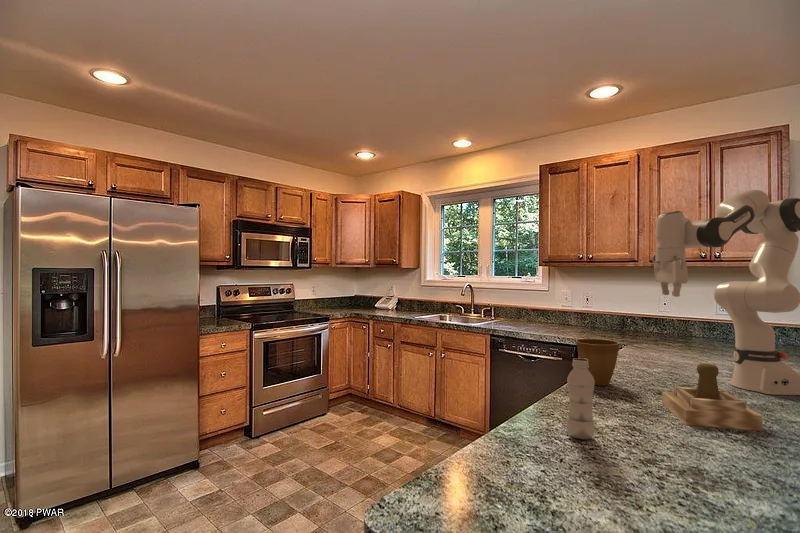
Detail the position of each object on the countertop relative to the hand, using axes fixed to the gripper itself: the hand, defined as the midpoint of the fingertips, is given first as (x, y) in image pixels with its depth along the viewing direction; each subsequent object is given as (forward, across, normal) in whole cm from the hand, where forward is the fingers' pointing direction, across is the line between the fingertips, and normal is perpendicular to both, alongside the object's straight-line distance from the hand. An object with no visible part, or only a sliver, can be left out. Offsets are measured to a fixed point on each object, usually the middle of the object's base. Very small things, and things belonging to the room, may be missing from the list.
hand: (670, 295), depth 146 cm
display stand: (+34, -25, -1) cm, 42 cm away
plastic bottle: (+34, -51, +38) cm, 72 cm away
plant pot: (+34, +5, +23) cm, 42 cm away
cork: (+30, -25, -1) cm, 39 cm away
